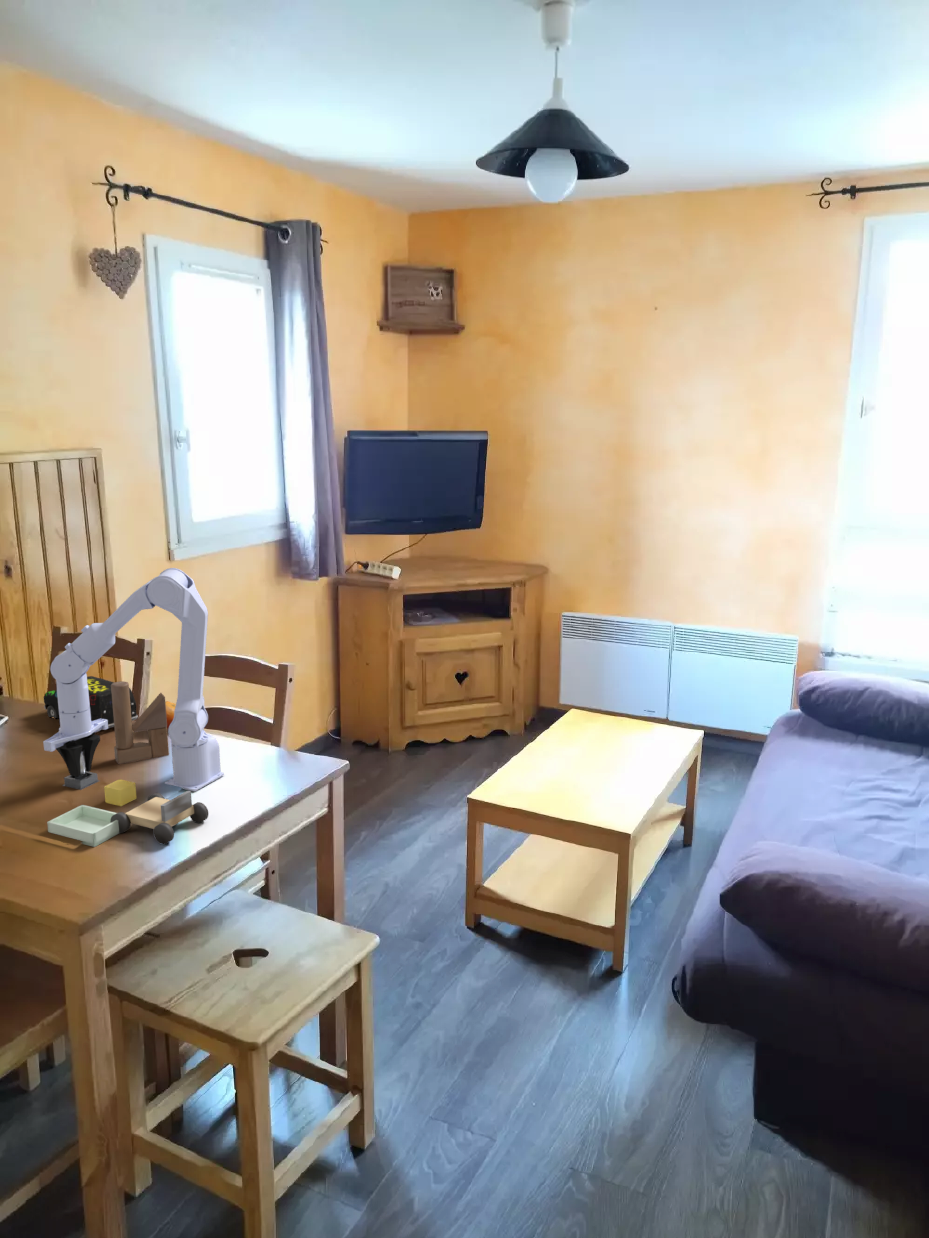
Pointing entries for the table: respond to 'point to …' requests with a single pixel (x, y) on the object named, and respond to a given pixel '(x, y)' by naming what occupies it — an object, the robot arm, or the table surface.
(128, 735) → the wooden block
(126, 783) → the yellow cube
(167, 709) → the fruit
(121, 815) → the trolley
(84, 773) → the pin
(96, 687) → the toy van
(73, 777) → the pin socket
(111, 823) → the tray
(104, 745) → the table surface
